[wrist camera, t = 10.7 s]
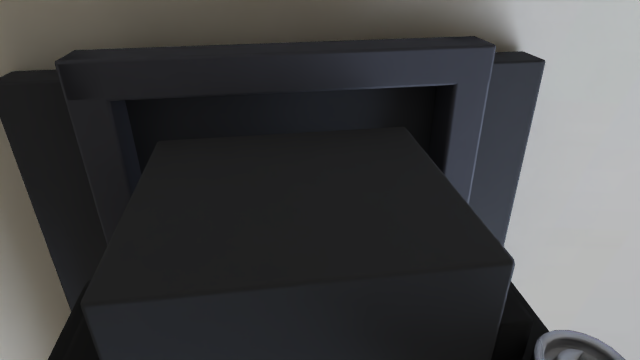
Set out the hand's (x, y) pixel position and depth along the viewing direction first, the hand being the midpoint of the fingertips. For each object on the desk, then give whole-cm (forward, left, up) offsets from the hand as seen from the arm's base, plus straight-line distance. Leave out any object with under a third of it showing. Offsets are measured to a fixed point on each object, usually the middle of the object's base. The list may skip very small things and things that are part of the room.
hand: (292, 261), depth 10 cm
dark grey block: (0, 0, 0) cm, 0 cm away
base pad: (+4, 0, -3) cm, 5 cm away
